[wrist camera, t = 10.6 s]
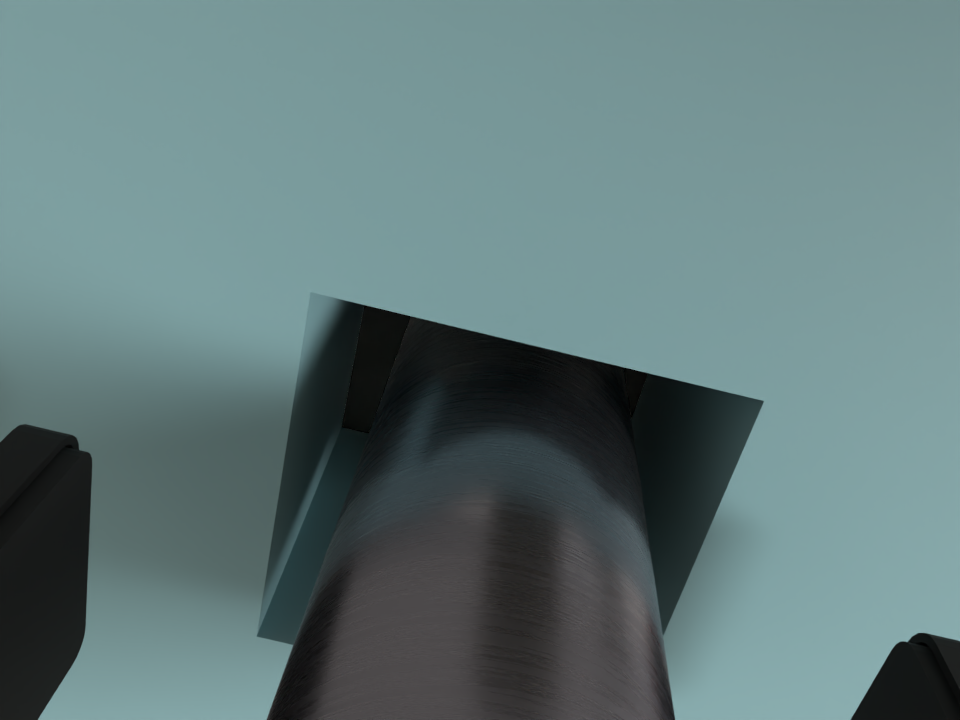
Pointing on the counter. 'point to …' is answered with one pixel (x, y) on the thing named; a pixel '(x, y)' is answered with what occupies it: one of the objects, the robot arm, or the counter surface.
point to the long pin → (487, 549)
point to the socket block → (492, 304)
